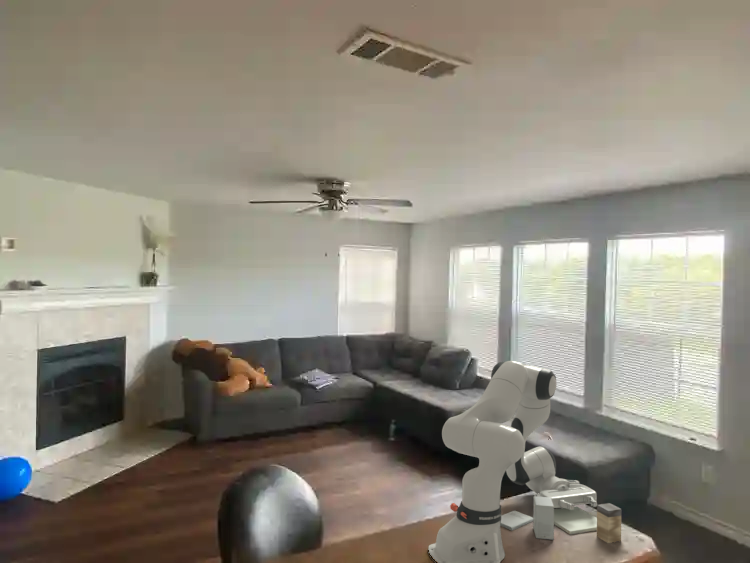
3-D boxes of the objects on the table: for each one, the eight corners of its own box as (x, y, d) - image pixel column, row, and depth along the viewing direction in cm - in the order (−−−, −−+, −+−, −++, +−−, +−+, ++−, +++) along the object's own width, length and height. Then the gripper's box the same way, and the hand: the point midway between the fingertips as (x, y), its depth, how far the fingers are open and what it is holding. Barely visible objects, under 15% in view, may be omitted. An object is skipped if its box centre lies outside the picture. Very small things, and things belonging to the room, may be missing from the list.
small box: (553, 540, 168) (554, 506, 168) (535, 538, 169) (535, 504, 170) (550, 529, 176) (551, 497, 176) (533, 527, 177) (533, 495, 177)
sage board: (570, 534, 173) (570, 531, 173) (539, 514, 188) (539, 511, 188) (609, 528, 178) (610, 525, 178) (576, 509, 193) (577, 506, 193)
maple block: (608, 543, 167) (608, 511, 167) (596, 536, 172) (597, 504, 172) (621, 541, 169) (621, 509, 169) (609, 534, 173) (609, 503, 173)
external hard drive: (491, 523, 181) (513, 514, 189) (511, 532, 175) (533, 522, 183) (491, 518, 181) (513, 509, 189) (511, 527, 175) (534, 517, 183)
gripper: (533, 485, 191) (558, 499, 178) (580, 479, 197) (608, 493, 184) (532, 503, 190) (558, 519, 177) (580, 497, 197) (607, 511, 184)
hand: (584, 505), depth 181 cm, fingers open, 8 cm apart
